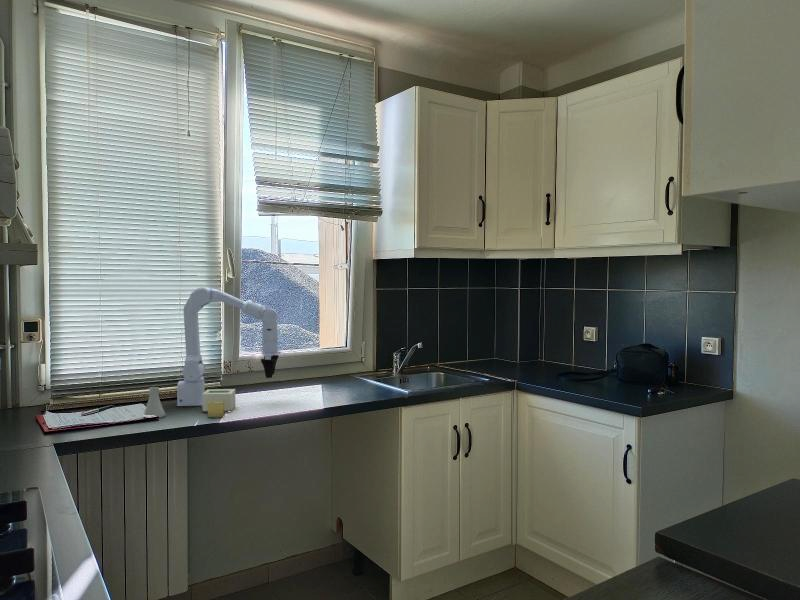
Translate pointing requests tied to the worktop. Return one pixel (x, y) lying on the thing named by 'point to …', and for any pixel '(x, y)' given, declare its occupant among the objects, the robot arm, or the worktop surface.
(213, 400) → the box
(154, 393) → the flask
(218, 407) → the block
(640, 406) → the worktop surface
